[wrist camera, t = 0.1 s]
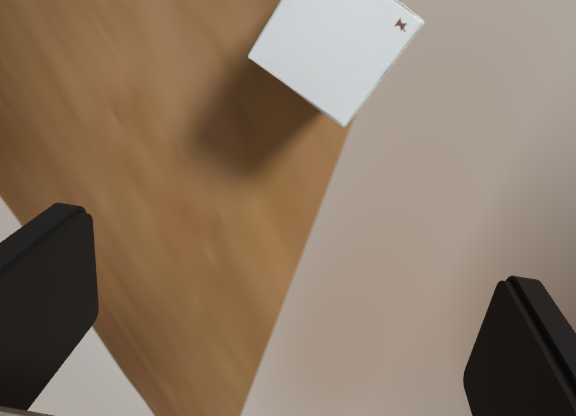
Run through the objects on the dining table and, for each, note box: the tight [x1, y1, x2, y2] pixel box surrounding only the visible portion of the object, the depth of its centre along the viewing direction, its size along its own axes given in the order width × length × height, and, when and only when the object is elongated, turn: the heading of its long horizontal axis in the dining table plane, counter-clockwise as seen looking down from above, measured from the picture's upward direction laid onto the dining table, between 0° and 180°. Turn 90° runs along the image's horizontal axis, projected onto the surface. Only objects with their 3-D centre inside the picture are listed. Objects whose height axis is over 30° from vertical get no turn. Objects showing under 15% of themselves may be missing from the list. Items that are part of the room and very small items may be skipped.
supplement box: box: [248, 0, 424, 127], centre depth 32 cm, size 7×7×13 cm
